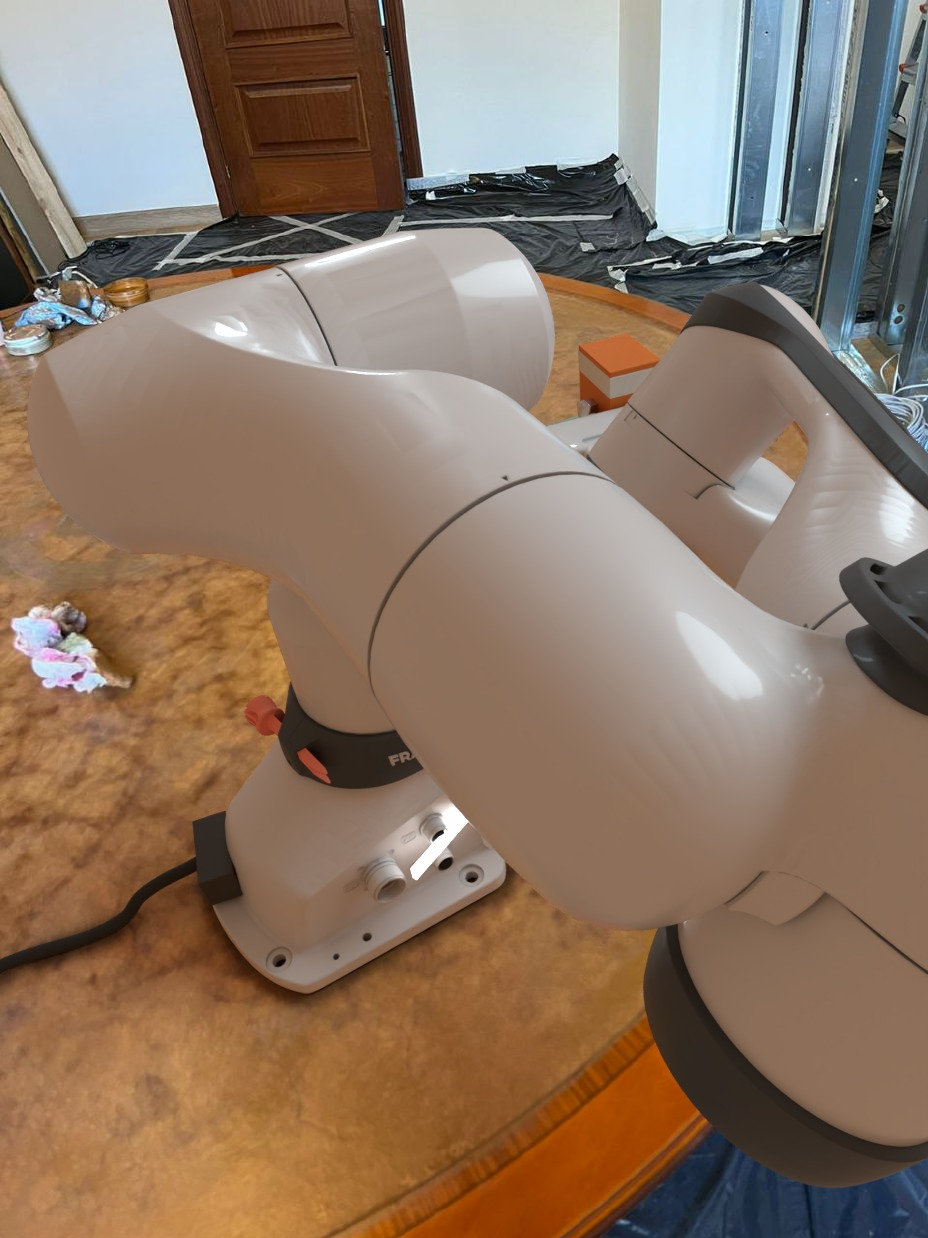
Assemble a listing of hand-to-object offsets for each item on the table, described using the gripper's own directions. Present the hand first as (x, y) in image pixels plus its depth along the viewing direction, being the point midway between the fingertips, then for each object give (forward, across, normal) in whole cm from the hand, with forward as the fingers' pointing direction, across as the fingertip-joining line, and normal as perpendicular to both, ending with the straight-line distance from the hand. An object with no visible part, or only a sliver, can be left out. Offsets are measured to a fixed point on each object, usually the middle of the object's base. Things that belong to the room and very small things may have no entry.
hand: (614, 398), depth 82 cm
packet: (-1, 0, +6) cm, 6 cm away
